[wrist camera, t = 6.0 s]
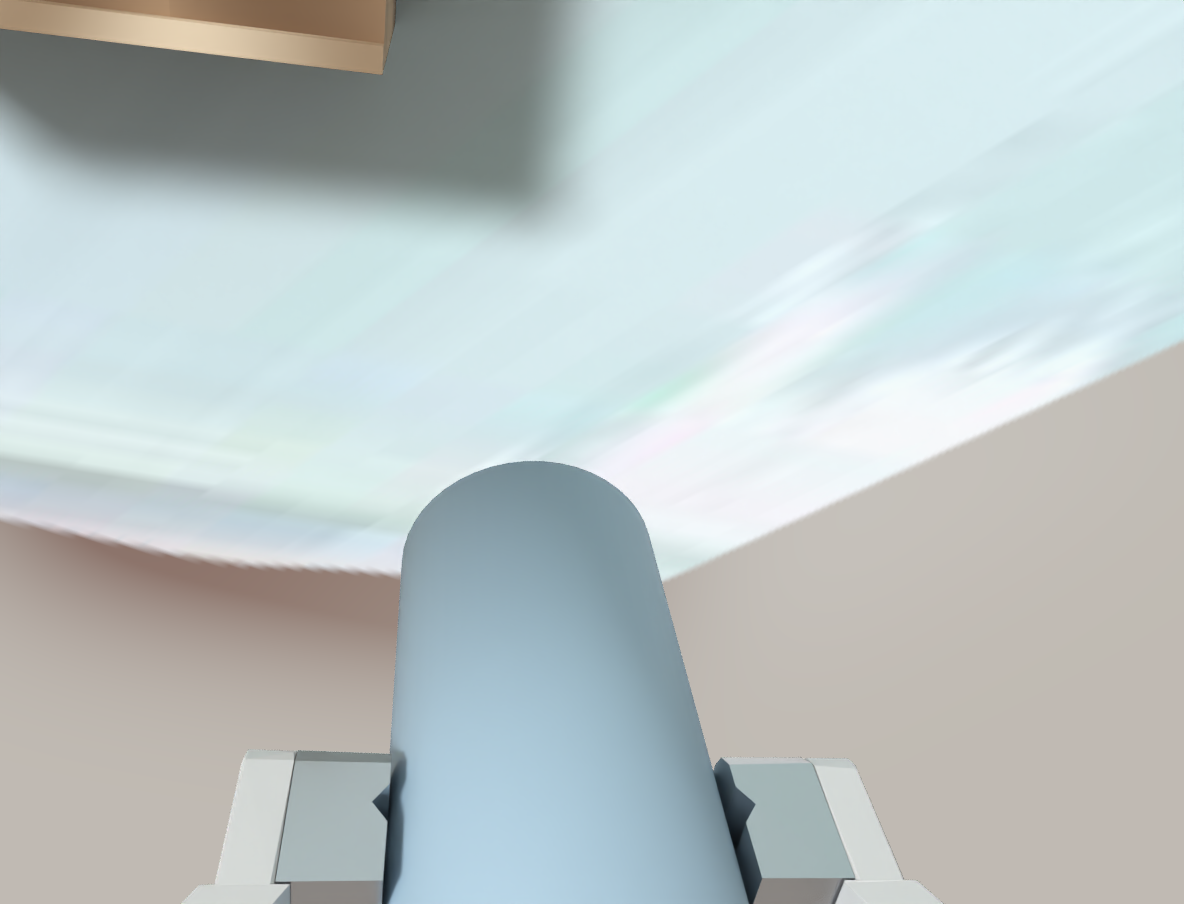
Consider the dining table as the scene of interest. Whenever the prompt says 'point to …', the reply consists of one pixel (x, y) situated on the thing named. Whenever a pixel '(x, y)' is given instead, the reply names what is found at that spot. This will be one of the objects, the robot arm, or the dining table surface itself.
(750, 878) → the robot arm
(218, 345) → the dining table surface
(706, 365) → the dining table surface
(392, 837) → the dowel
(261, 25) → the socket block
